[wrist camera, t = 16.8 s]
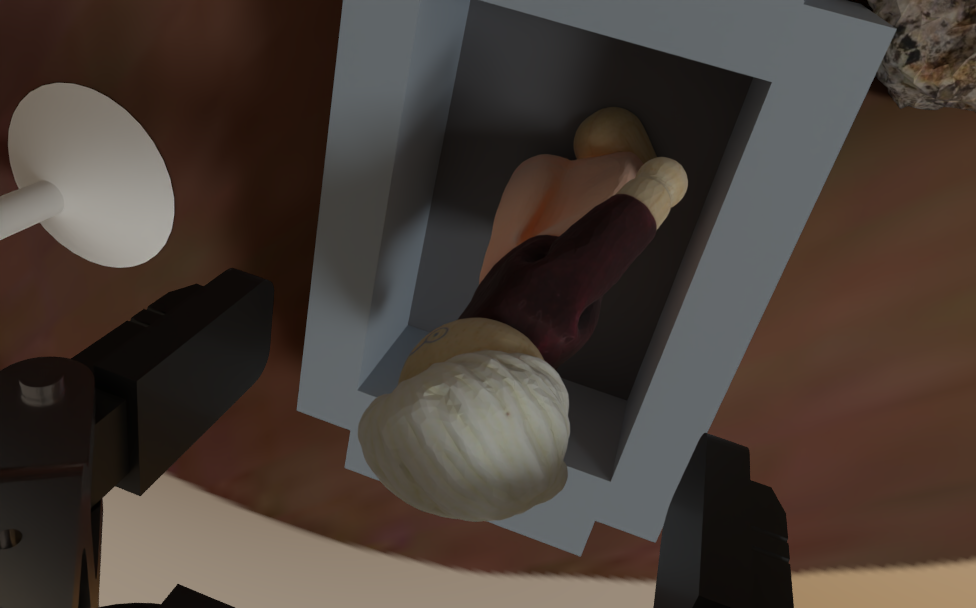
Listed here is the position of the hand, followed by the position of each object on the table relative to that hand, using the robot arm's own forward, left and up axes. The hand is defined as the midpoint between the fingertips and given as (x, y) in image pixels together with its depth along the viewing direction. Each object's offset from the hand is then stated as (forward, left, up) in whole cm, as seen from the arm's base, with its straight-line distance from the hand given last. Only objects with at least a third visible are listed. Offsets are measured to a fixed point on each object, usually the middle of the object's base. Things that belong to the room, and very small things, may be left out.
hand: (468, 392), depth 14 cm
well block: (0, 0, -10) cm, 10 cm away
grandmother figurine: (0, 0, -10) cm, 10 cm away
